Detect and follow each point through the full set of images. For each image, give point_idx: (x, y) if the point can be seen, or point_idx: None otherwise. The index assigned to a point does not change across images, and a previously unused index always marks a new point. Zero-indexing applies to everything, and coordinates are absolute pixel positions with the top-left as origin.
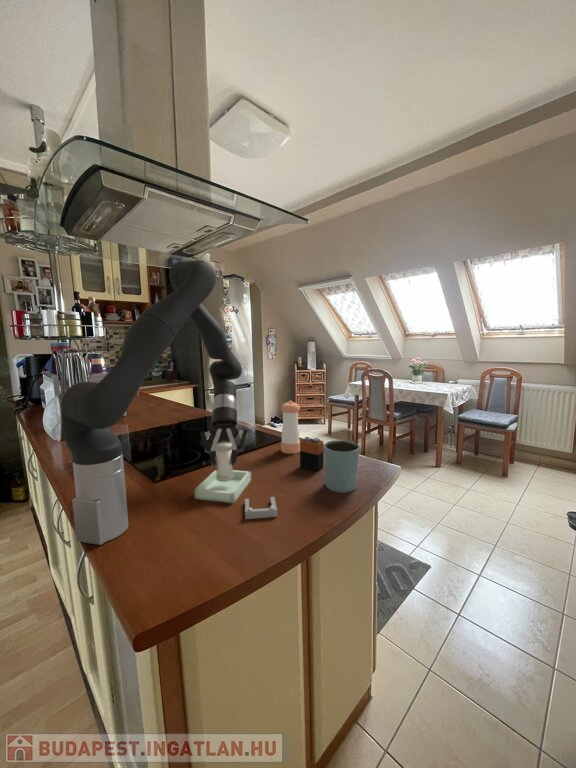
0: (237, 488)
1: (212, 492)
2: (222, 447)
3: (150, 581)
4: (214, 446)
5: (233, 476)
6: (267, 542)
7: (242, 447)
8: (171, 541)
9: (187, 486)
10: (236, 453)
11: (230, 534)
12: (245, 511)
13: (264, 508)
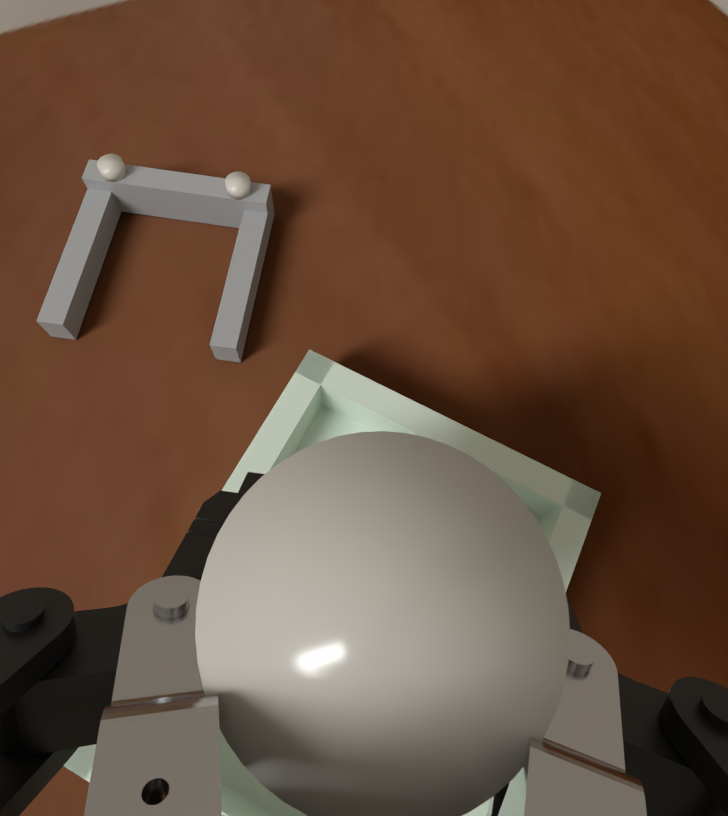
0: (267, 421)
1: (458, 424)
2: (413, 435)
3: (625, 12)
4: (565, 704)
5: (250, 806)
6: (218, 56)
7: (13, 601)
8: (611, 159)
9: None
10: (171, 562)
11: (361, 135)
12: (267, 189)
13: (154, 187)
